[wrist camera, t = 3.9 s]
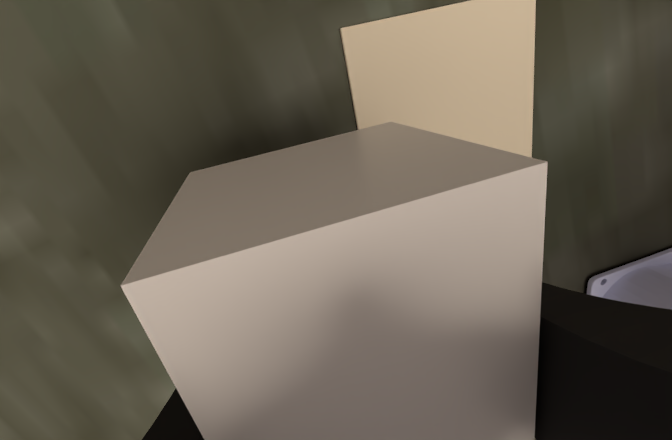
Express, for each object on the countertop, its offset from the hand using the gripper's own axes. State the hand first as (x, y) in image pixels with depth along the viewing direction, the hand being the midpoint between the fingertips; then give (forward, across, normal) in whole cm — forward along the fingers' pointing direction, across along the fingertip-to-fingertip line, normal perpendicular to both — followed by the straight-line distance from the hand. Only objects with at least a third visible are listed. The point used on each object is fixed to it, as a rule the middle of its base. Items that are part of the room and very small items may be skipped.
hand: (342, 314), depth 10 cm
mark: (+9, -9, -3) cm, 13 cm away
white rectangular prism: (+2, 0, 0) cm, 2 cm away
